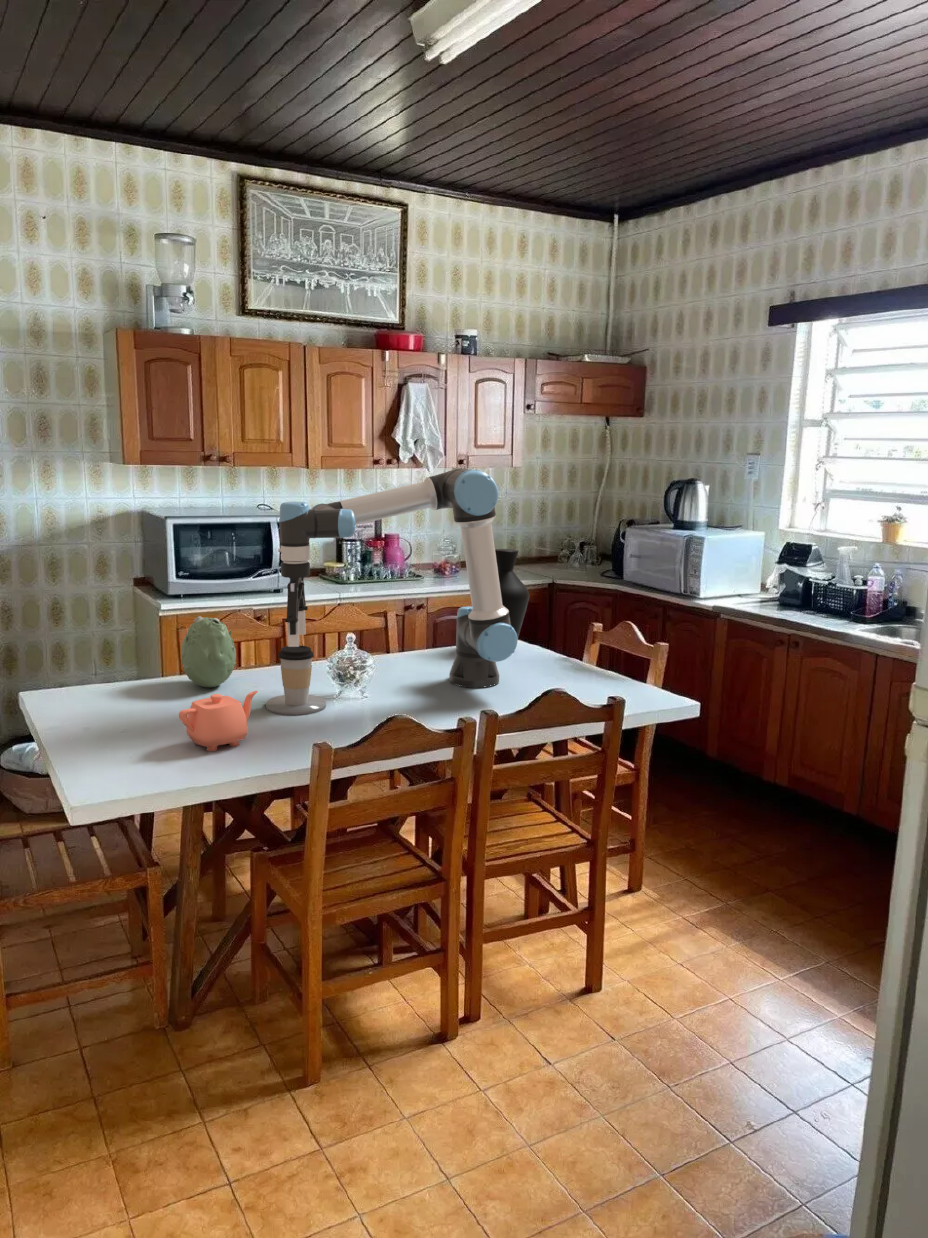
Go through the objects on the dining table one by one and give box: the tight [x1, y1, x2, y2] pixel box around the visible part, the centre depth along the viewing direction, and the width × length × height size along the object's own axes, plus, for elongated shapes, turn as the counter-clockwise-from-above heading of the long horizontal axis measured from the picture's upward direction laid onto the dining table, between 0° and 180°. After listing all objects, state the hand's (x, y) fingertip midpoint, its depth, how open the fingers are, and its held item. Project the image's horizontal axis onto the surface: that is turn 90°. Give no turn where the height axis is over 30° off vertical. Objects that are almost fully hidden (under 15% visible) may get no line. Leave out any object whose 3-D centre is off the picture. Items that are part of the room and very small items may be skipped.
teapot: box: [178, 690, 258, 752], centre depth 217 cm, size 20×12×12 cm, turn 132°
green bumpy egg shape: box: [181, 615, 237, 688], centre depth 262 cm, size 16×19×20 cm
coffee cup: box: [277, 644, 315, 706], centre depth 246 cm, size 9×9×15 cm
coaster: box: [265, 694, 327, 716], centre depth 248 cm, size 16×16×1 cm
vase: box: [495, 548, 530, 639], centre depth 313 cm, size 17×17×35 cm
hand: (297, 640), depth 245 cm, fingers open, 13 cm apart
